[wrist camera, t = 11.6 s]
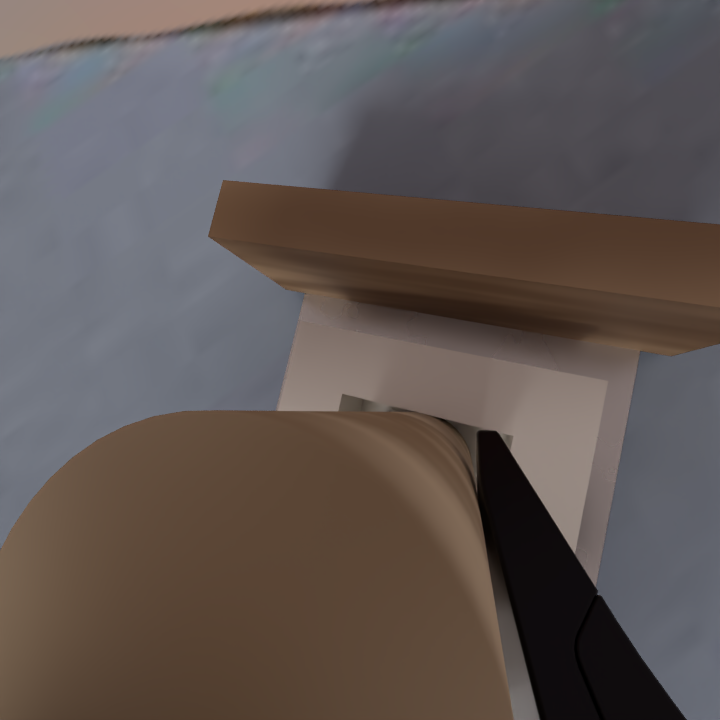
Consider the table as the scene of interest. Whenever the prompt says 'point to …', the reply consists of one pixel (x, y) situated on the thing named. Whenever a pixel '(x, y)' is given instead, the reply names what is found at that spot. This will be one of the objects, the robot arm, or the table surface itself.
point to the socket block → (461, 403)
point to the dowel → (255, 575)
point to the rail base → (491, 288)
